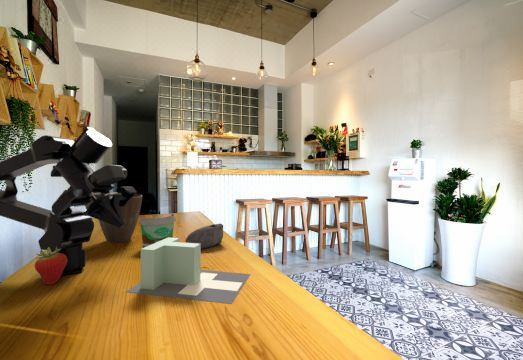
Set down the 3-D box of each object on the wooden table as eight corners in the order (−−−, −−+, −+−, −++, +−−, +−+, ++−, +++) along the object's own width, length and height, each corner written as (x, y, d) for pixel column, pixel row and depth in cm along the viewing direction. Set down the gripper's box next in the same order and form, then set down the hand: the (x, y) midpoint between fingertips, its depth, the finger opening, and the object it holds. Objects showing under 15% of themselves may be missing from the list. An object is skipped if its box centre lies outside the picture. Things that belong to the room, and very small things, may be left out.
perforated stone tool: (190, 254, 75) (190, 230, 75) (180, 250, 78) (180, 228, 78) (228, 244, 86) (228, 224, 86) (218, 241, 90) (218, 222, 89)
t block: (140, 288, 51) (140, 249, 51) (168, 270, 61) (168, 237, 61) (185, 293, 49) (186, 252, 49) (206, 273, 59) (207, 239, 59)
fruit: (35, 282, 54) (35, 245, 54) (66, 276, 57) (66, 241, 57) (34, 291, 50) (33, 251, 50) (68, 284, 53) (67, 246, 53)
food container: (148, 252, 75) (148, 219, 75) (138, 249, 79) (138, 217, 79) (183, 244, 85) (183, 214, 85) (173, 241, 89) (173, 213, 89)
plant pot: (151, 239, 92) (151, 195, 91) (108, 248, 79) (108, 198, 79) (128, 233, 100) (128, 193, 99) (85, 242, 87) (85, 196, 87)
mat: (124, 293, 49) (124, 291, 49) (165, 267, 63) (165, 266, 63) (231, 305, 45) (231, 303, 45) (250, 275, 59) (250, 274, 59)
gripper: (63, 148, 49) (111, 207, 47) (130, 156, 67) (167, 198, 65) (31, 188, 51) (76, 246, 49) (105, 185, 69) (140, 227, 67)
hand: (122, 226), depth 57 cm, fingers closed
